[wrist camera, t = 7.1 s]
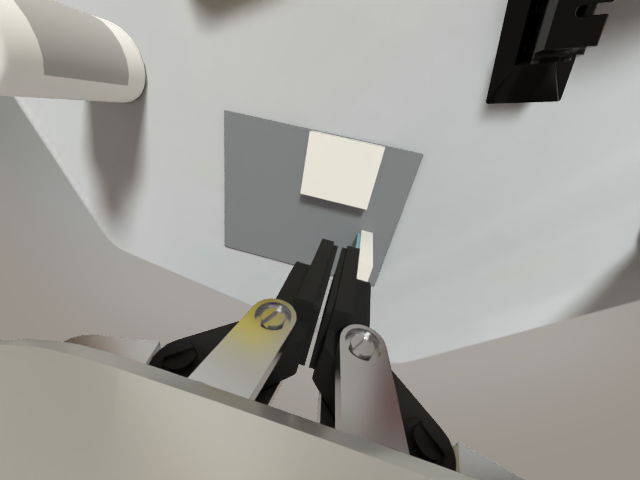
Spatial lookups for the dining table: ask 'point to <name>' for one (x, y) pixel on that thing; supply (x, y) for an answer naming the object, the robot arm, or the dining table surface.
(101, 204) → the dining table surface
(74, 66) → the spray bottle
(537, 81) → the black slotted bracket
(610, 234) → the dining table surface
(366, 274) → the tile
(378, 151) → the tile
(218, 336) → the robot arm
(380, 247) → the mat
